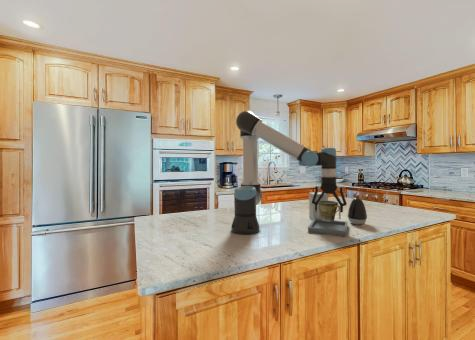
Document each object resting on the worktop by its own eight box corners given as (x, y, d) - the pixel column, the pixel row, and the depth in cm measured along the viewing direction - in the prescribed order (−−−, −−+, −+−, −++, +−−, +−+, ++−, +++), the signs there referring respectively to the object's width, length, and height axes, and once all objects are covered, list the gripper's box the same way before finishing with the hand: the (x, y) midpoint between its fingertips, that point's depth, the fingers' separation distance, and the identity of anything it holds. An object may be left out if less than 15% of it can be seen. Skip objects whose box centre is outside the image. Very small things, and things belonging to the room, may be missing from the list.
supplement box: (328, 221, 148) (328, 194, 148) (313, 221, 148) (313, 194, 148) (323, 217, 158) (323, 192, 157) (308, 217, 158) (308, 192, 157)
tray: (308, 232, 126) (308, 227, 126) (314, 222, 145) (314, 218, 145) (345, 236, 118) (345, 231, 118) (347, 226, 137) (347, 221, 137)
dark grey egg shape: (367, 222, 144) (367, 197, 144) (366, 226, 135) (366, 199, 135) (349, 220, 150) (349, 196, 149) (346, 224, 141) (346, 198, 140)
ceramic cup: (314, 218, 135) (314, 201, 135) (328, 217, 139) (328, 200, 139) (331, 224, 123) (332, 205, 123) (346, 222, 127) (346, 203, 127)
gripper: (305, 176, 132) (306, 217, 133) (352, 177, 122) (351, 221, 123) (308, 175, 139) (308, 214, 140) (352, 176, 129) (352, 217, 130)
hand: (328, 217), depth 131 cm, fingers closed on ceramic cup, 10 cm apart
